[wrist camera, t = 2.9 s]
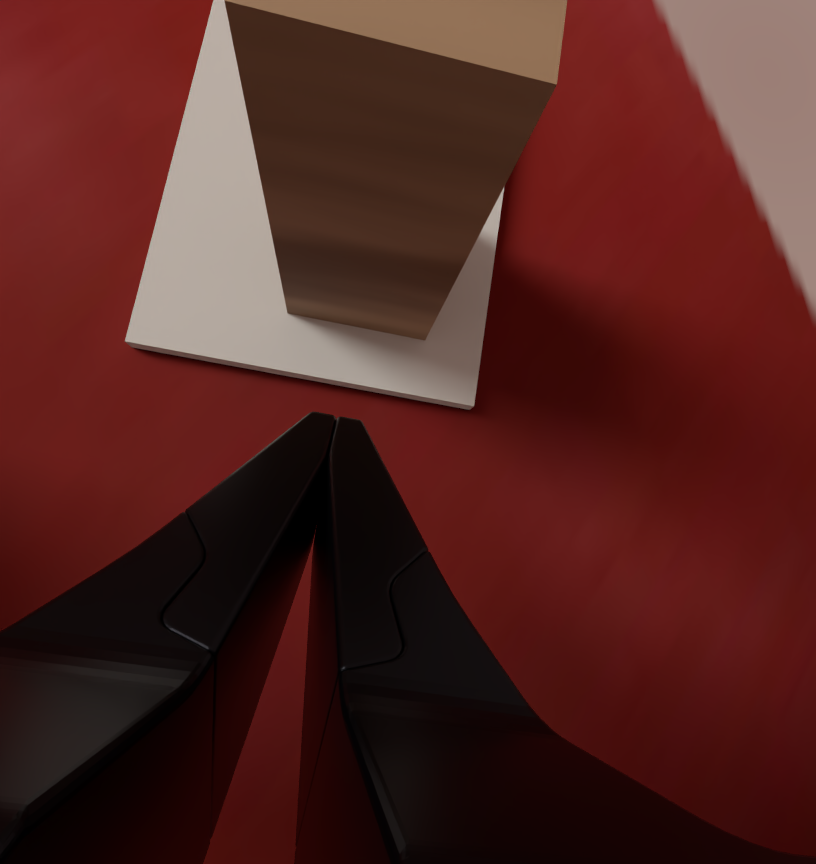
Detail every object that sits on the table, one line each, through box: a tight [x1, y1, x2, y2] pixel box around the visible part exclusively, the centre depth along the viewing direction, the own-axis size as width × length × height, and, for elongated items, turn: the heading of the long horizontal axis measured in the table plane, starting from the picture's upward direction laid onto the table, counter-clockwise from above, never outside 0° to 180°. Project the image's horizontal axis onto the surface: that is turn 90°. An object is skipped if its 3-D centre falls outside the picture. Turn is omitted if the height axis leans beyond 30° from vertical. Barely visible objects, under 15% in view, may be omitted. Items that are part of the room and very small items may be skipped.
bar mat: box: [125, 0, 504, 410], centre depth 20 cm, size 20×11×1 cm, turn 171°
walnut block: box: [224, 0, 567, 340], centre depth 13 cm, size 4×4×11 cm
